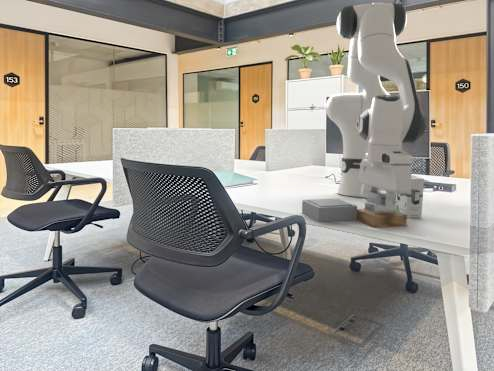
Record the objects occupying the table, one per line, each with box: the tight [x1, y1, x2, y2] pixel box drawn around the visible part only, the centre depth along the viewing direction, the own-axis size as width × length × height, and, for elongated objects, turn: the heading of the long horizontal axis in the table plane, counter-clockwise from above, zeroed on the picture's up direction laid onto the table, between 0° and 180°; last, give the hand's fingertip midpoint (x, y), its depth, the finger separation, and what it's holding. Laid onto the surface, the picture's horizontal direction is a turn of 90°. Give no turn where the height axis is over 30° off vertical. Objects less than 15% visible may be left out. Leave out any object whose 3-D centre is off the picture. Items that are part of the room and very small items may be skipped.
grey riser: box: [301, 198, 358, 223], centre depth 122 cm, size 12×12×4 cm
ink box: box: [396, 174, 425, 219], centre depth 125 cm, size 9×5×12 cm, turn 4°
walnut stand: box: [356, 207, 408, 228], centre depth 116 cm, size 10×10×3 cm
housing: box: [364, 191, 397, 214], centre depth 115 cm, size 7×5×6 cm
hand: (380, 204), depth 115 cm, fingers closed on housing, 5 cm apart
